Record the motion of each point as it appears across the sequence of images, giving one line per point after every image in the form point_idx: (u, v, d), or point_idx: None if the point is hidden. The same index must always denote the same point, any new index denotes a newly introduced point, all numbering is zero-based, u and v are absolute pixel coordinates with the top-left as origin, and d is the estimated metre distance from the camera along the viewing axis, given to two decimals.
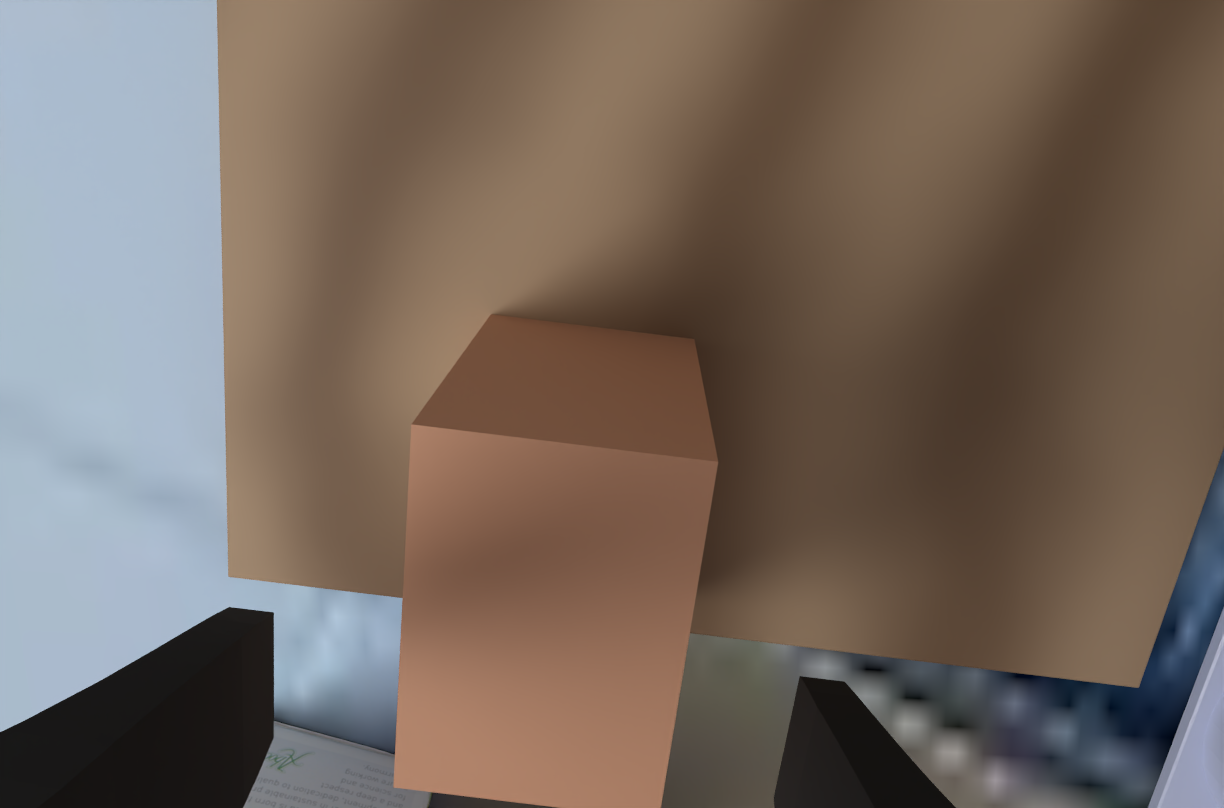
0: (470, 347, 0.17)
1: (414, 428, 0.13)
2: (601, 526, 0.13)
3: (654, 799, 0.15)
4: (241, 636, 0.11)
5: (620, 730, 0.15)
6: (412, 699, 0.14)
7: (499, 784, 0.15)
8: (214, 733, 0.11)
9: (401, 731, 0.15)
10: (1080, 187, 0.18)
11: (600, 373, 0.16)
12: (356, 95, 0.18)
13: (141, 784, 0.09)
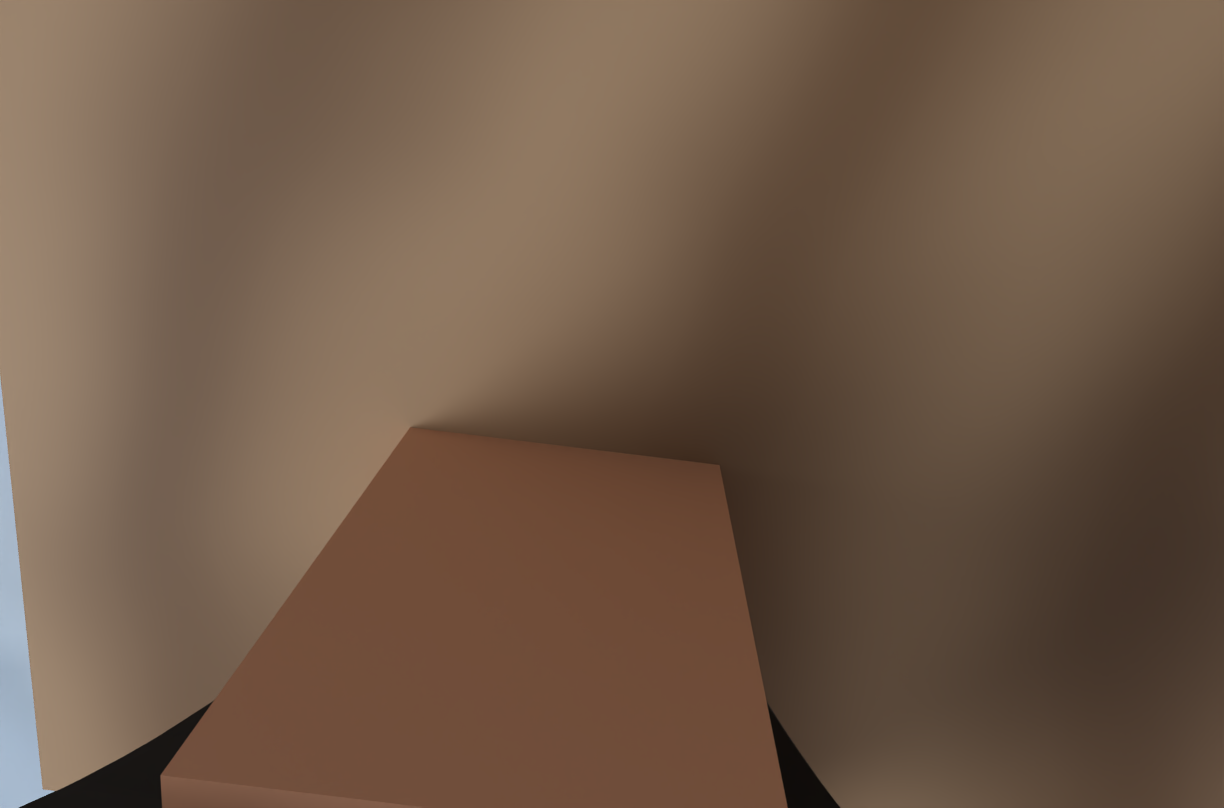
0: (356, 510, 0.10)
1: (166, 784, 0.06)
2: None
3: None
4: None
5: None
6: None
7: None
8: None
9: None
10: None
11: (569, 566, 0.10)
12: (187, 93, 0.12)
13: None
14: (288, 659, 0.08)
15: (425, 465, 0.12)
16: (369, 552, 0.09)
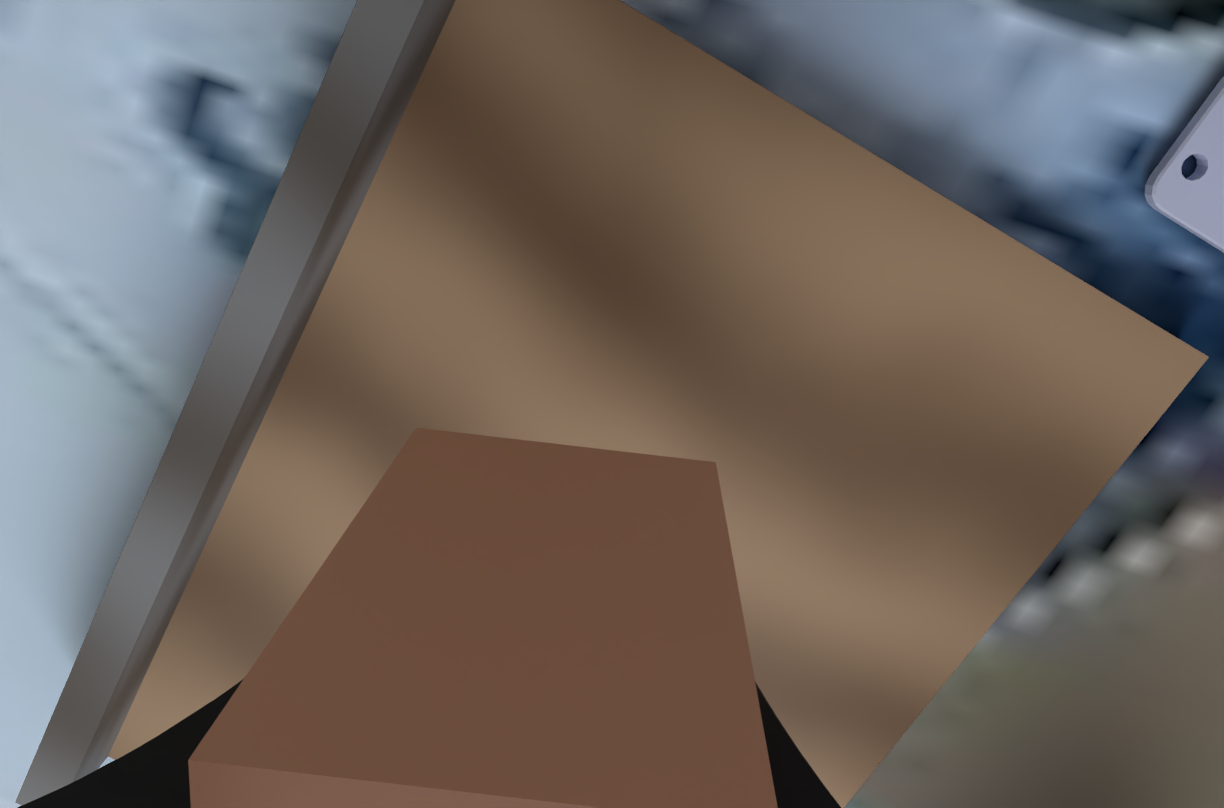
0: (365, 509, 0.11)
1: (193, 769, 0.07)
2: None
3: None
4: None
5: None
6: None
7: None
8: None
9: None
10: (635, 282, 0.19)
11: (569, 561, 0.10)
12: None
13: None
14: (304, 652, 0.08)
15: (431, 465, 0.12)
16: (378, 549, 0.10)
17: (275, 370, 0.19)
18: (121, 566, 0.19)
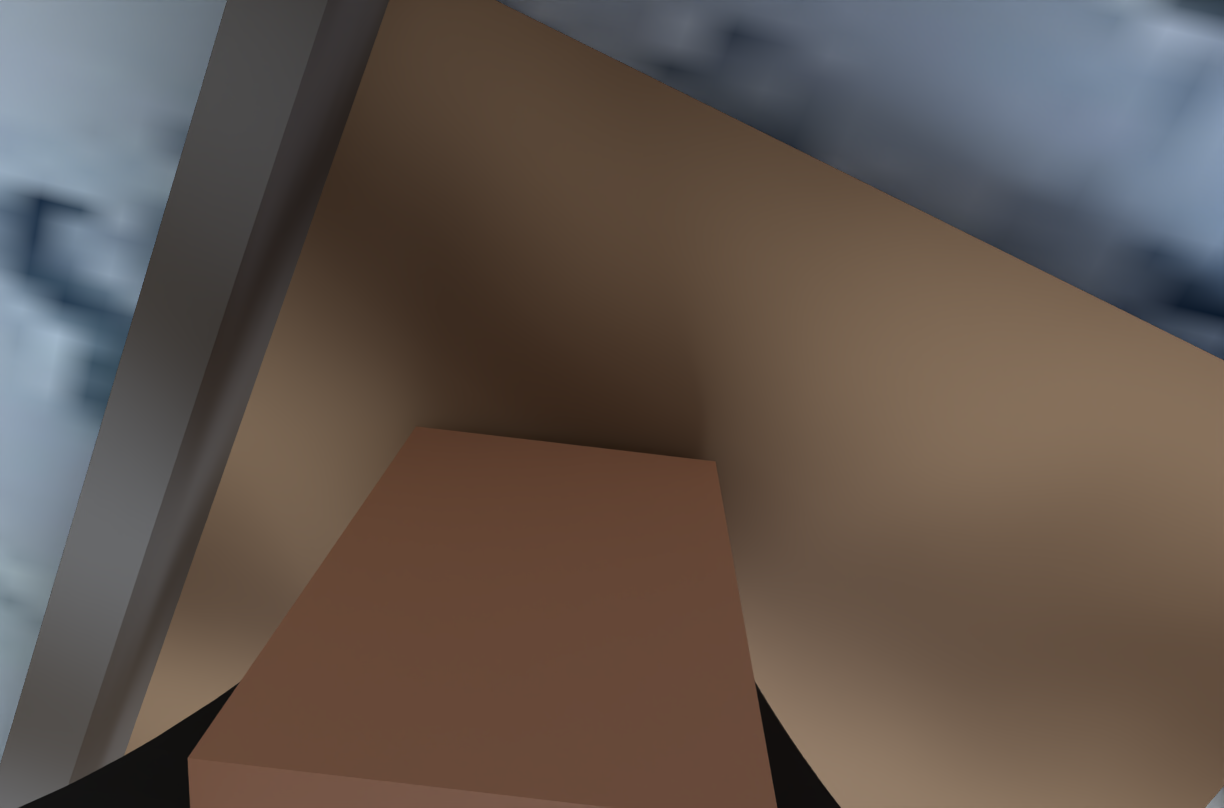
0: (365, 508, 0.11)
1: (193, 767, 0.07)
2: None
3: None
4: None
5: None
6: None
7: None
8: None
9: None
10: (653, 438, 0.14)
11: (569, 560, 0.10)
12: None
13: None
14: (303, 650, 0.08)
15: (431, 463, 0.12)
16: (378, 548, 0.10)
17: (163, 595, 0.14)
18: None
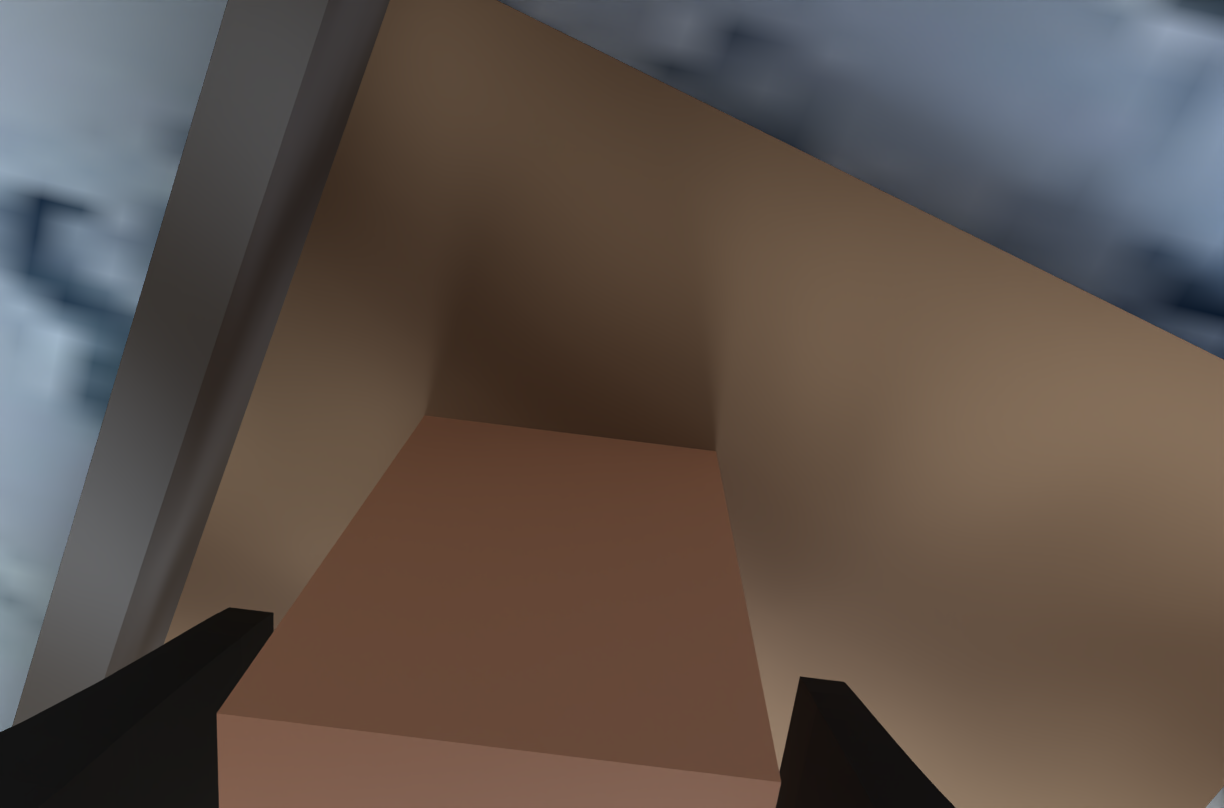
0: (377, 490, 0.11)
1: (222, 721, 0.07)
2: None
3: None
4: (241, 636, 0.11)
5: None
6: None
7: None
8: (214, 733, 0.11)
9: None
10: (653, 438, 0.14)
11: (577, 540, 0.10)
12: None
13: (141, 784, 0.09)
14: (323, 618, 0.08)
15: (440, 450, 0.13)
16: (391, 527, 0.10)
17: (164, 594, 0.14)
18: None
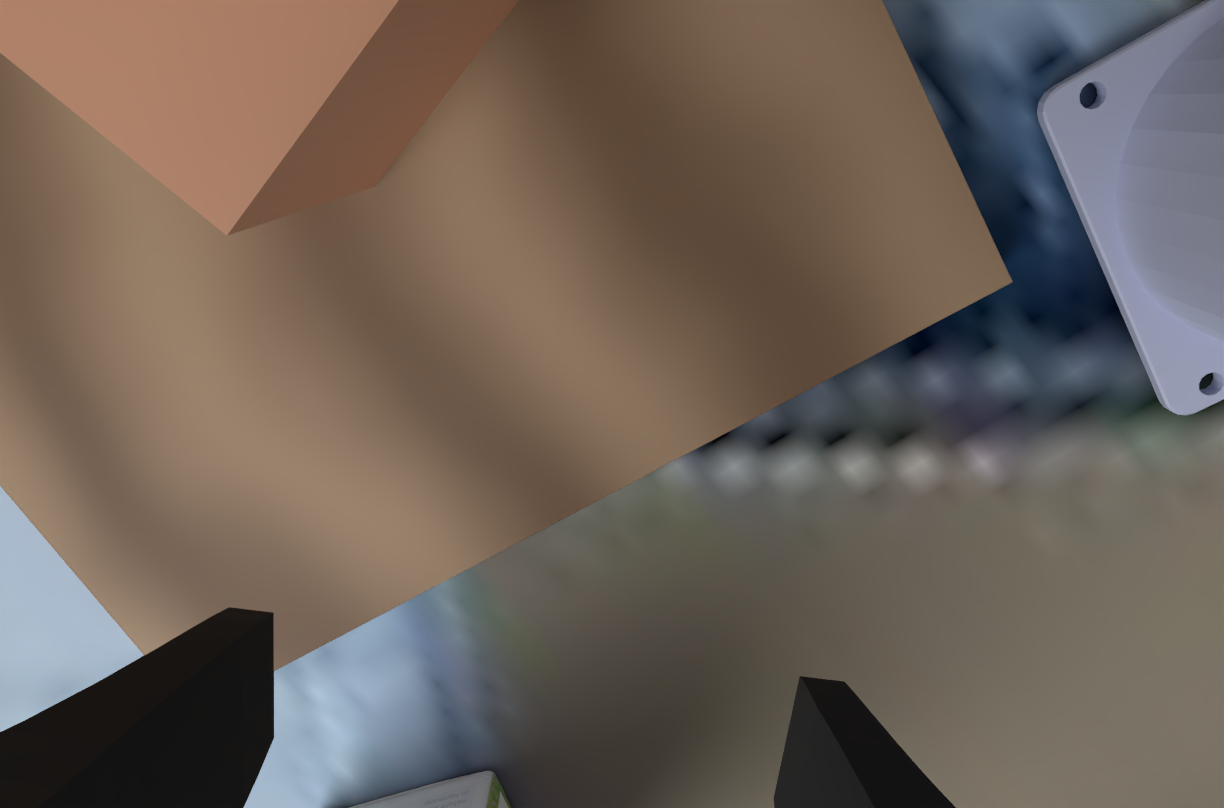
0: None
1: None
2: None
3: (236, 206, 0.12)
4: (241, 636, 0.11)
5: (244, 93, 0.12)
6: None
7: (68, 76, 0.12)
8: (214, 733, 0.11)
9: None
10: None
11: None
12: None
13: (141, 784, 0.09)
14: None
15: None
16: None
17: None
18: None
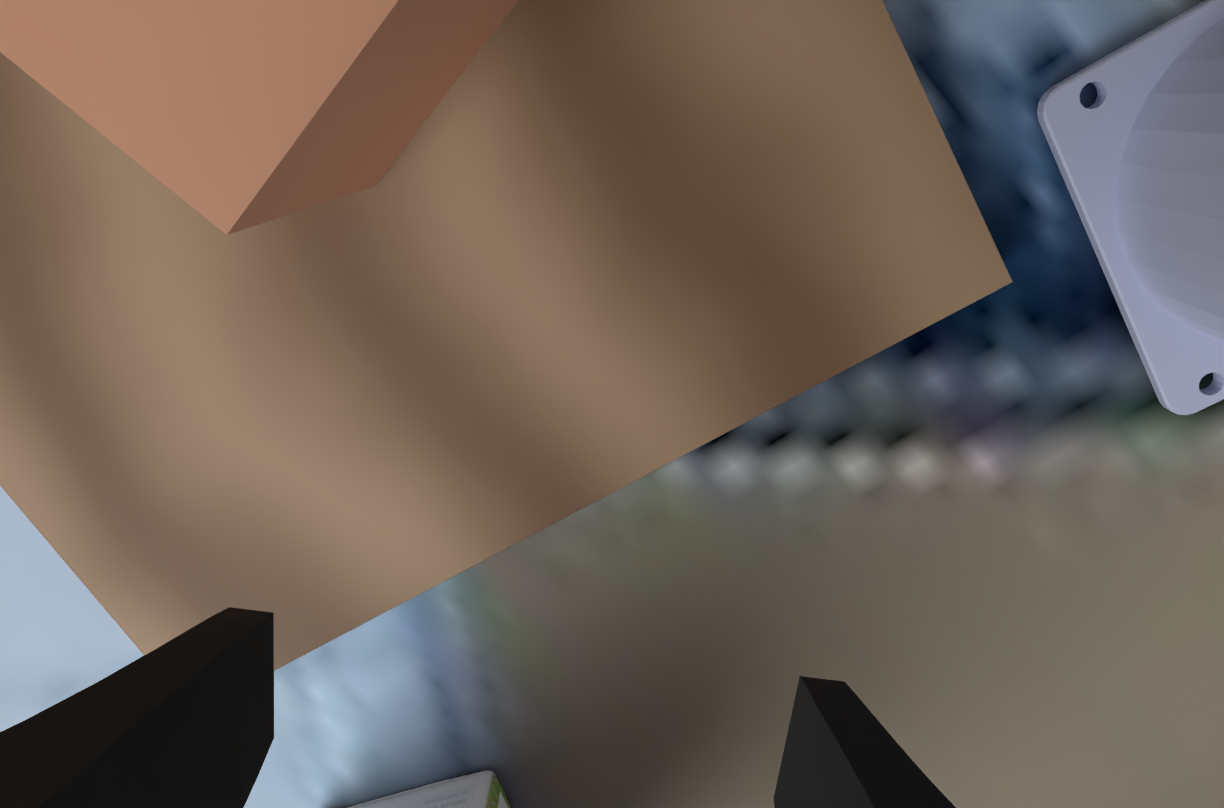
0: None
1: None
2: None
3: (236, 206, 0.12)
4: (241, 636, 0.11)
5: (244, 93, 0.12)
6: None
7: (68, 75, 0.12)
8: (214, 733, 0.11)
9: None
10: None
11: None
12: None
13: (141, 784, 0.09)
14: None
15: None
16: None
17: None
18: None
